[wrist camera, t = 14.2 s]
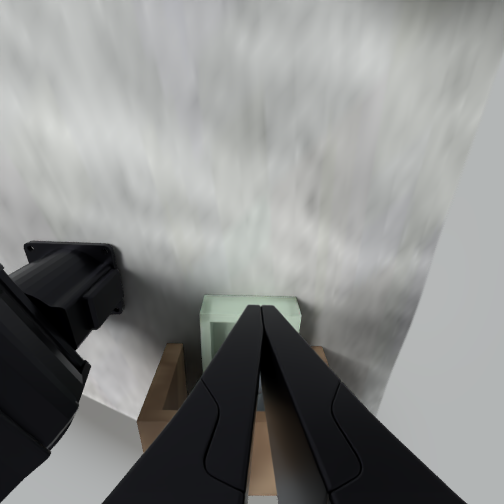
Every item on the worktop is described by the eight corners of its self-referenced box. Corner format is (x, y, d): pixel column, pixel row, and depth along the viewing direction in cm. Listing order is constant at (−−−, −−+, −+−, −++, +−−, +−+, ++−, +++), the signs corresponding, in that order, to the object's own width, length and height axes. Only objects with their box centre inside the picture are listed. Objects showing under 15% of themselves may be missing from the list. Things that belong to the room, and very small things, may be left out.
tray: (208, 389, 27) (205, 413, 24) (204, 294, 22) (199, 313, 20) (283, 390, 27) (286, 414, 25) (295, 296, 22) (301, 315, 20)
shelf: (175, 411, 28) (153, 495, 22) (167, 343, 24) (136, 421, 17) (307, 412, 29) (326, 495, 22) (321, 346, 25) (349, 423, 18)
